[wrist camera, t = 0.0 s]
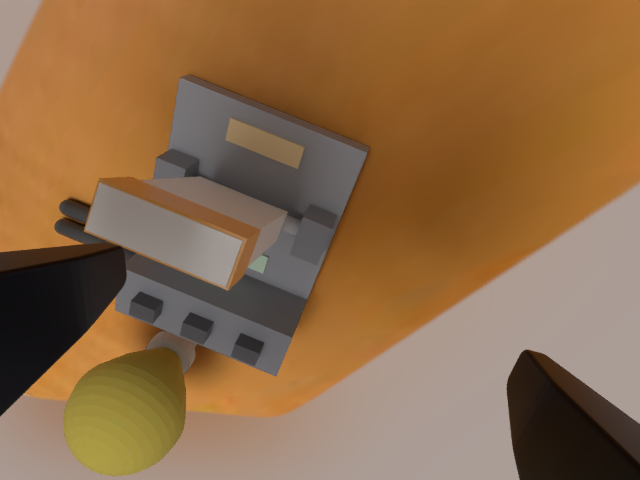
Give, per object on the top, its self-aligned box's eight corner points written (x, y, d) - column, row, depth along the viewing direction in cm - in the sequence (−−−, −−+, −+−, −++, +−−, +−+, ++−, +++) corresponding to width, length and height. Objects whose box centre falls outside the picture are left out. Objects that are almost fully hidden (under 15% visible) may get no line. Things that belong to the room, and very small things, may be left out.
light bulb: (244, 345, 31) (174, 477, 23) (193, 386, 34) (115, 516, 26) (168, 282, 30) (64, 397, 21) (123, 331, 33) (16, 448, 24)
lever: (199, 173, 23) (97, 178, 14) (290, 210, 23) (246, 239, 14) (187, 206, 23) (81, 231, 14) (277, 243, 23) (227, 291, 14)
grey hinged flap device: (67, 25, 23) (-23, 32, 18) (369, 146, 23) (355, 185, 18) (61, 230, 30) (-7, 273, 25) (296, 326, 29) (271, 388, 25)
